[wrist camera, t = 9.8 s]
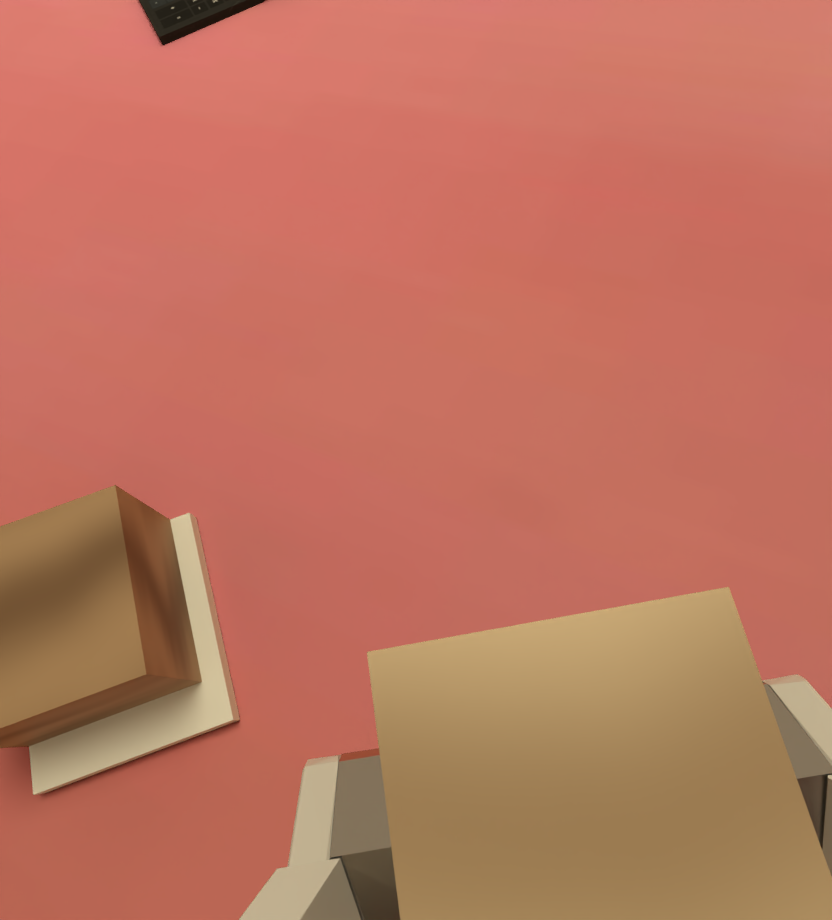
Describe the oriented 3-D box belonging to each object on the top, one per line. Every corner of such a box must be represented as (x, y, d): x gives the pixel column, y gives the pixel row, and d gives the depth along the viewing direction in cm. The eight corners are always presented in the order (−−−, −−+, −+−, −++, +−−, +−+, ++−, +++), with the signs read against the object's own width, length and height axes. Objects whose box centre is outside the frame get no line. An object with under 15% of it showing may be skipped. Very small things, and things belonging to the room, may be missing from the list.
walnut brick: (202, 681, 28) (146, 674, 24) (28, 746, 28) (-62, 751, 23) (170, 519, 31) (115, 485, 27) (13, 576, 31) (-69, 551, 27)
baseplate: (240, 720, 28) (233, 719, 28) (45, 793, 28) (33, 794, 27) (196, 517, 32) (189, 512, 31) (24, 579, 32) (13, 576, 31)
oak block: (661, 863, 13) (895, 1057, 5) (463, 895, 13) (426, 1126, 6) (606, 656, 14) (729, 586, 7) (430, 687, 14) (367, 652, 7)
